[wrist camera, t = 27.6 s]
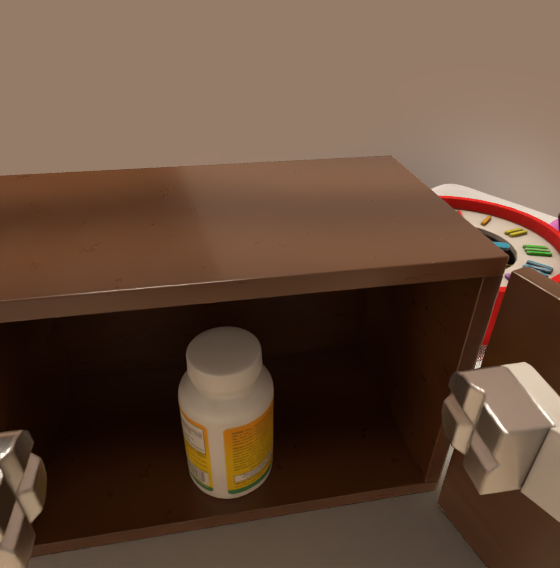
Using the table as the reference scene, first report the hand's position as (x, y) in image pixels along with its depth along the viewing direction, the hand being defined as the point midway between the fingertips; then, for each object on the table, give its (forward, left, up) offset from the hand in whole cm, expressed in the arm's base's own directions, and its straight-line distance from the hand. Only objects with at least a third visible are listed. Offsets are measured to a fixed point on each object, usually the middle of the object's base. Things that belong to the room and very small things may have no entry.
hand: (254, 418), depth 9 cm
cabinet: (-3, -16, -20) cm, 26 cm away
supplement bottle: (-2, -13, -19) cm, 23 cm away
